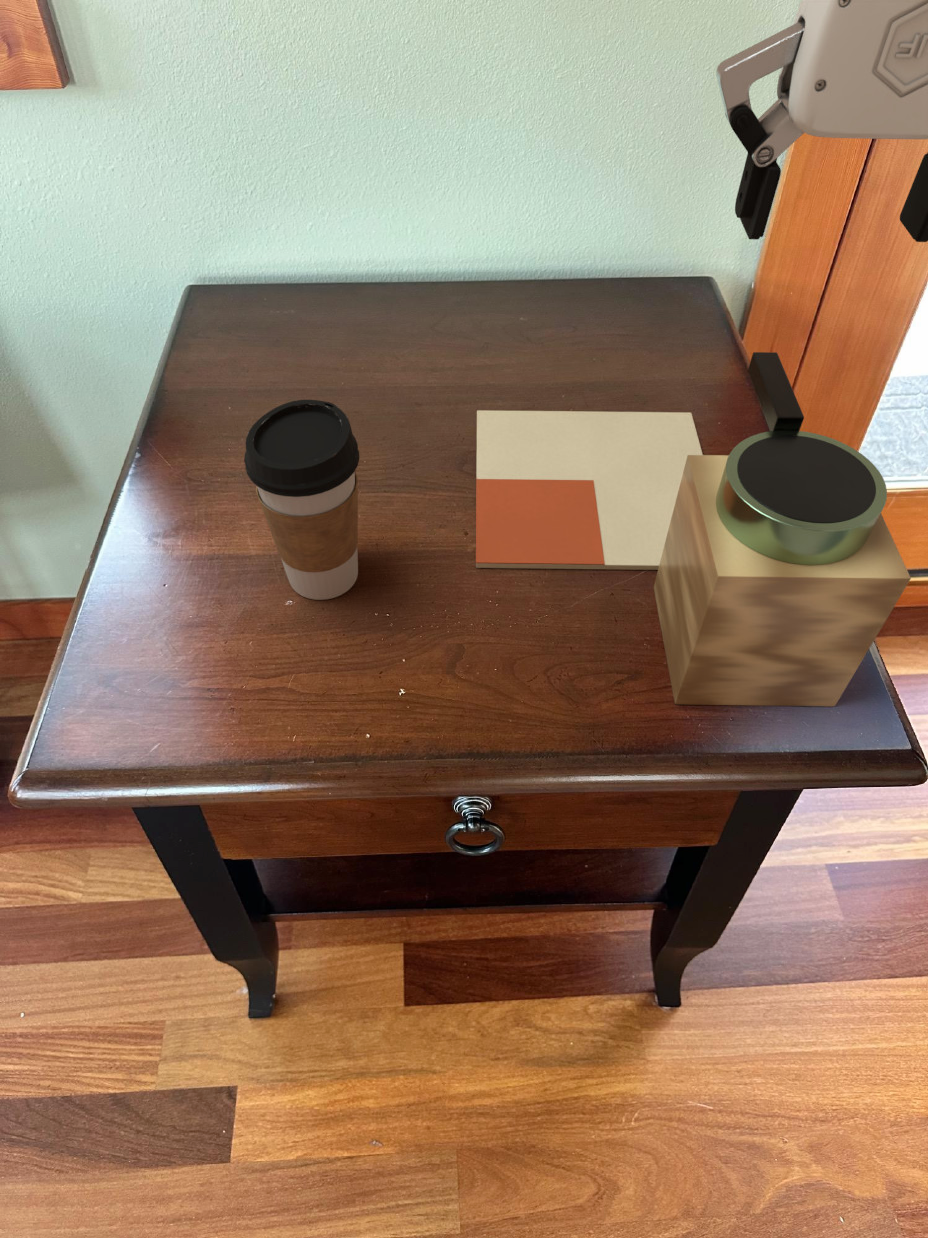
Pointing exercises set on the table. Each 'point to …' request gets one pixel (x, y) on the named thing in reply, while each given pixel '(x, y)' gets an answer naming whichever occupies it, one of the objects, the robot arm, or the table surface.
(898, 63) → the robot arm
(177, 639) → the table surface
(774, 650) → the block
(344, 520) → the coffee cup
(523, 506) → the mat
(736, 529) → the pan
